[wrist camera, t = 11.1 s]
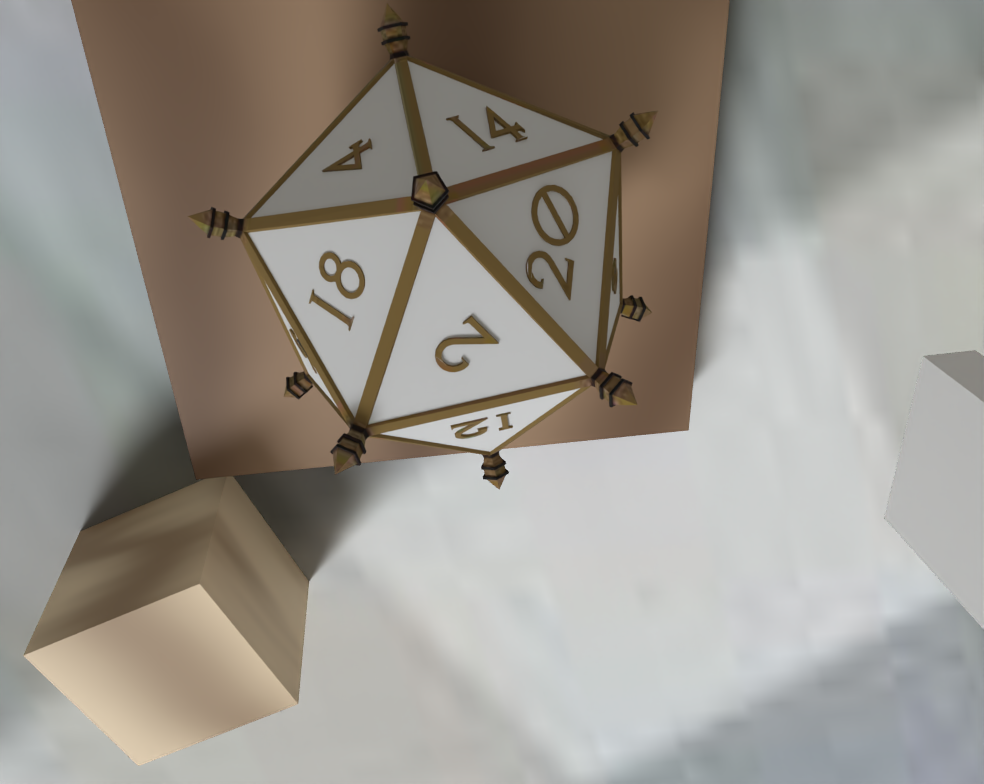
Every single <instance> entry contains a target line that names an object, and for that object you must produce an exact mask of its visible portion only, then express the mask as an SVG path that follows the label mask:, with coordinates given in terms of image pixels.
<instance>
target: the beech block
mask: <svg viewBox="0 0 984 784" xmlns="http://www.w3.org/2000/svg"><path fill="white" fill-rule="evenodd" d="M308 587H309V581H308V580H307V578H306V577H305V575H304V574H303V573H302V571H301V570H300V569H299V567H298V566H297V564H296V563H295V562H294V560H293V559H292V557H291V556H290V555H289V553H288V552H287V550H286V549H285V548H284V546H283V545H282V544H281V542H280V541H279V539H278V538H277V537H276V535H275V534H274V532H273V531H272V530H271V528H270V527H269V525H268V524H267V523H266V521H265V520H264V519H263V517H262V516H261V514H260V513H259V512H258V510H257V509H256V507H255V506H254V505H253V503H252V502H251V500H250V499H249V498H248V496H247V495H246V494H245V492H244V491H243V489H242V488H241V487H240V485H239V484H238V482H237V481H236V480H235V478H234V477H233V476H228V477H218V478H208V479H204V480H201V481H199V482H197V483H194V484H192V485H190V486H187V487H185V488H182V489H180V490H178V491H175V492H173V493H170V494H168V495H166V496H163V497H161V498H159V499H156V500H154V501H151V502H149V503H147V504H144V505H142V506H139V507H137V508H135V509H132V510H130V511H128V512H125V513H123V514H120V515H118V516H116V517H113V518H111V519H108V520H106V521H104V522H101V523H99V524H97V525H94V526H92V527H89V528H87V529H85V530H82V531H80V533H79V535H78V538H77V540H76V542H75V544H74V546H73V548H72V551H71V553H70V555H69V557H68V559H67V561H66V564H65V566H64V568H63V570H62V572H61V574H60V577H59V579H58V581H57V583H56V585H55V588H54V590H53V592H52V594H51V596H50V598H49V601H48V603H47V605H46V607H45V609H44V611H43V614H42V616H41V618H40V620H39V622H38V625H37V627H36V629H35V631H34V633H33V635H32V638H31V640H30V642H29V644H28V646H27V648H26V651H25V653H24V655H23V656H24V657H25V658H26V659H27V660H28V661H29V662H30V663H31V664H33V665H34V666H35V667H36V668H37V669H38V670H39V671H40V672H41V673H42V674H43V675H44V676H45V677H46V678H47V679H48V680H49V681H50V682H51V683H52V684H53V685H54V686H55V687H57V688H58V689H59V690H60V691H61V692H62V693H63V694H64V695H65V696H66V697H67V698H68V699H69V700H70V701H71V702H72V703H73V704H74V705H75V706H76V707H77V708H78V709H80V710H81V711H82V712H83V713H84V714H85V715H86V716H87V717H88V718H89V719H90V720H91V721H92V722H93V723H94V724H95V725H96V726H97V727H98V728H99V729H100V730H101V731H103V732H104V733H105V734H106V735H107V736H108V737H109V738H110V739H111V740H112V741H113V742H114V743H115V744H116V745H117V746H118V747H119V748H120V749H121V750H122V751H123V752H124V753H125V754H127V755H128V756H129V757H130V758H131V759H132V760H133V761H134V762H135V763H136V764H137V765H138V766H140V765H142V764H145V763H148V762H150V761H153V760H155V759H158V758H160V757H163V756H166V755H168V754H171V753H173V752H176V751H178V750H181V749H184V748H186V747H189V746H191V745H194V744H196V743H199V742H202V741H204V740H207V739H209V738H212V737H215V736H217V735H220V734H222V733H225V732H227V731H230V730H233V729H235V728H238V727H240V726H243V725H245V724H248V723H251V722H253V721H256V720H258V719H261V718H263V717H266V716H269V715H271V714H274V713H276V712H279V711H281V710H284V709H287V708H289V707H292V706H294V705H297V704H298V700H299V689H300V677H301V666H302V655H303V644H304V632H305V621H306V610H307V599H308Z"/></svg>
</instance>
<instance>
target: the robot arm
mask: <svg viewBox="0 0 984 784" xmlns="http://www.w3.org/2000/svg"><path fill="white" fill-rule="evenodd" d="M884 519H885V520H886V521H887V522H888V523H889V524H890V525H891V526H892V528H893V529H894V530H895V531H896V532H897V533H898V534H899V535H900V536H901V538H902V539H903V540H904V541H905V542H906V543H907V544H908V545H909V547H910V548H911V549H912V550H913V551H914V552H915V553H916V554H917V555H918V557H919V558H920V559H921V560H922V561H923V562H924V563H925V564H926V566H927V567H928V568H929V569H930V570H931V571H932V572H933V573H934V574H935V576H936V577H937V578H938V579H939V580H940V581H941V582H942V583H943V584H944V586H945V587H946V588H947V589H948V590H949V591H950V592H951V593H952V595H953V596H954V597H955V598H956V599H957V600H958V601H959V602H960V603H961V605H962V606H963V607H964V608H965V609H966V610H967V611H968V612H969V613H970V615H971V616H972V617H973V618H974V619H975V620H976V621H977V622H978V624H979V625H980V626H981V627H982V628H983V629H984V356H983V355H981V354H980V353H978V352H977V351H975V350H974V351H965V352H955V353H946V354H937V355H928V356H923V357H922V362H921V366H920V370H919V374H918V378H917V383H916V387H915V391H914V395H913V399H912V404H911V408H910V412H909V416H908V420H907V424H906V429H905V433H904V437H903V441H902V445H901V450H900V454H899V458H898V462H897V466H896V471H895V475H894V479H893V483H892V487H891V492H890V496H889V500H888V504H887V508H886V512H885V517H884Z"/></svg>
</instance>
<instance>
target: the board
mask: <svg viewBox="0 0 984 784" xmlns="http://www.w3.org/2000/svg"><path fill="white" fill-rule="evenodd" d="M71 1H72V5H73V9H74V13H75V17H76V21H77V24H78V28H79V32H80V36H81V40H82V44H83V47H84V51H85V55H86V59H87V63H88V67H89V71H90V74H91V78H92V82H93V86H94V90H95V94H96V97H97V101H98V105H99V109H100V113H101V117H102V120H103V124H104V128H105V132H106V136H107V140H108V143H109V147H110V151H111V155H112V159H113V163H114V166H115V170H116V174H117V178H118V182H119V186H120V190H121V193H122V197H123V201H124V205H125V209H126V213H127V216H128V220H129V224H130V228H131V232H132V236H133V239H134V243H135V247H136V251H137V255H138V259H139V262H140V266H141V270H142V274H143V278H144V282H145V286H146V289H147V293H148V297H149V301H150V305H151V309H152V312H153V316H154V320H155V324H156V328H157V332H158V335H159V339H160V343H161V347H162V351H163V355H164V358H165V362H166V366H167V370H168V374H169V378H170V381H171V385H172V389H173V393H174V397H175V401H176V405H177V408H178V412H179V416H180V420H181V424H182V428H183V431H184V435H185V439H186V443H187V447H188V451H189V454H190V458H191V462H192V466H193V470H194V474H195V477H196V480H198V479H208V478H218V477H228V476H238V475H248V474H258V473H268V472H278V471H288V470H298V469H308V468H318V467H328V466H334V461H333V454H331V453H330V451H331V450H332V449H333V448H334V447H335V445H336V444H339V443H338V442H337V441H338V439H339V438H340V437H341V436H342V435H343V434H344V433H345V434H347V433H348V432H349V430H350V428H349V427H348V426H347V424H346V423H345V422H344V421H343V420H342V418H341V417H340V416H339V415H338V414H337V412H336V411H335V410H334V409H333V407H332V406H331V405H330V404H329V403H328V401H327V400H326V399H325V398H324V397H323V395H322V394H321V393H320V392H319V391H318V389H317V388H316V387H315V386H314V384H312V385H313V387H312V388H311V389H310V390H309V391H308V392H307V393H306V394H304V395H303V396H302V397H301V398H300V399H299V400H298V399H297V398H295V397H284V392H285V388H286V377H292V376H293V373H294V372H299V373H300V372H303V371H304V370H303V368H302V366H301V364H300V362H299V360H298V358H297V356H296V353H295V351H294V349H293V347H292V345H291V343H290V341H289V339H288V337H287V335H286V333H285V331H284V329H283V327H282V324H281V322H280V320H279V318H278V316H277V314H276V312H275V310H274V308H273V306H272V304H271V302H270V300H269V297H268V295H267V293H266V291H265V289H264V287H263V285H262V283H261V281H260V279H259V277H258V275H257V273H256V270H255V268H254V266H253V264H252V262H251V260H250V258H249V256H248V254H247V252H246V250H245V248H244V246H243V243H242V241H241V239H240V238H238V237H236V236H233V237H225V238H224V240H221V237H218V236H211V237H210V238H207V234H206V233H205V232H204V231H203V230H202V229H201V228H199V227H198V226H197V225H196V224H195V223H194V222H193V221H192V220H191V219H190V218H188V217H187V216H190V215H194V214H197V213H200V212H204V211H207V210H210V209H211V207H214V208H216V211H219V212H223V213H224V210H225V211H228V212H230V213H229V215H231V216H233V217H235V218H238V219H243V218H244V217H245V216H246V215H247V213H248V212H249V211H250V210H251V209H252V208H253V207H254V206H255V205H256V204H257V203H258V202H259V201H260V199H261V198H262V197H263V196H264V195H265V194H266V193H267V192H268V191H269V190H270V189H271V188H272V186H273V185H274V184H275V183H276V182H277V181H278V180H279V179H280V178H281V177H282V176H283V175H284V173H285V172H286V171H287V170H288V169H289V168H290V167H291V166H292V165H293V164H294V163H295V162H296V161H297V159H298V158H299V157H300V156H301V155H302V154H303V153H304V152H305V151H306V150H307V149H308V148H309V146H310V145H311V144H312V143H313V142H314V141H315V140H316V139H317V138H318V137H319V136H320V135H321V134H322V132H323V131H324V130H325V129H326V128H327V127H328V126H329V125H330V124H331V123H332V122H333V121H334V119H335V118H336V117H337V116H338V115H339V114H340V113H341V112H342V111H343V110H344V109H345V108H346V107H347V105H348V104H349V103H350V102H351V101H352V100H353V99H354V98H355V97H356V96H357V95H358V94H359V92H360V91H361V90H362V89H363V88H364V87H365V86H366V85H367V84H368V83H369V82H370V81H371V79H372V78H373V77H374V76H375V75H376V74H377V73H378V72H379V71H380V70H381V69H382V68H383V67H384V65H385V64H386V63H387V62H388V61H389V60H390V54H389V52H388V50H387V49H386V47H385V45H382V44H381V42H383V38H382V35H381V32H378V30H377V29H378V28H380V26H381V22H382V19H383V15H384V12H385V8H386V5H387V3H388V4H389V5H390V7H391V8H392V9H393V10H394V11H395V12H396V13H397V14H398V16H399V17H400V18H401V19H402V20H403V21H404V22H408V25H407V26H406V31H407V36H410V39H409V40H408V47H407V51H408V53H409V56H412V57H414V58H417V59H419V60H422V61H424V62H427V63H429V64H432V65H434V66H437V67H439V68H442V69H444V70H447V71H449V72H452V73H454V74H457V75H459V76H462V77H464V78H467V79H469V80H472V81H474V82H477V83H479V84H482V85H484V86H487V87H490V88H492V89H495V90H497V91H500V92H502V93H505V94H507V95H510V96H512V97H515V98H517V99H520V100H522V101H525V102H527V103H530V104H532V105H535V106H537V107H540V108H542V109H545V110H547V111H550V112H552V113H555V114H557V115H560V116H562V117H565V118H567V119H570V120H572V121H575V122H577V123H580V124H582V125H585V126H587V127H590V128H592V129H595V130H597V131H600V132H602V133H605V134H607V135H612V134H615V133H616V131H617V130H618V129H619V128H620V126H619V124H620V123H621V122H622V121H624V122H626V121H627V120H628V119H629V118H630V114H631V113H633V112H634V114H639V113H645V112H652V111H658V113H657V115H656V118H655V120H654V123H653V125H652V128H651V130H650V133H649V137H650V139H648V140H647V139H646V138H644V139H643V140H641V141H640V142H638V145H639V146H637V147H635V146H634V145H633V146H630V147H627V148H625V149H624V150H623V151H622V152H621V185H622V284H623V299H624V298H628V297H629V296H631V295H633V296H634V298H639V297H642V298H643V301H644V303H645V304H646V306H647V307H648V308H649V309H650V310H651V312H652V313H651V314H649V315H647V316H646V317H644V318H642V319H641V321H640V322H639V321H635V320H632V319H628V318H625V317H621V315H622V314H620V316H619V320H618V324H617V327H616V331H615V334H614V338H613V341H612V345H611V349H610V352H609V356H608V359H607V363H606V367H605V370H606V372H607V373H609V374H610V373H611V372H613V373H616V374H619V375H620V376H622V378H623V379H625V380H628V381H630V382H632V386H631V388H632V390H633V393H634V396H635V399H636V402H637V405H615V406H614V407H612V408H611V407H610V406H609V402H608V401H607V400H606V399H605V398H604V399H603V400H602V399H600V396H599V392H598V390H597V389H596V387H593V386H591V387H590V388H588V389H587V390H586V391H584V392H583V393H581V394H580V395H578V396H577V397H576V398H574V399H573V400H571V401H570V402H568V403H567V404H566V405H564V406H563V407H561V408H560V409H558V410H557V411H556V412H554V413H553V414H551V415H550V416H548V417H547V418H546V419H544V420H543V421H541V422H540V423H538V424H537V425H536V426H534V427H533V428H531V429H530V430H528V431H527V432H525V433H524V434H523V435H521V436H520V437H518V438H517V439H515V440H514V441H513V442H511V443H510V444H508V445H507V446H505V447H504V448H503V449H507V448H517V447H527V446H537V445H547V444H557V443H567V442H577V441H587V440H597V439H607V438H616V437H626V436H636V435H646V434H656V433H666V432H676V431H686V430H689V420H690V409H691V399H692V388H693V378H694V367H695V357H696V347H697V336H698V326H699V315H700V305H701V294H702V284H703V273H704V263H705V252H706V242H707V232H708V221H709V211H710V200H711V190H712V179H713V169H714V158H715V148H716V137H717V127H718V117H719V106H720V96H721V85H722V75H723V64H724V54H725V43H726V33H727V22H728V12H729V1H730V0H71ZM622 378H621V379H622ZM365 449H366V454H362V455H361V458H360V461H361V463H368V462H378V461H387V460H397V459H407V458H417V457H427V456H437V455H447V454H457V453H467V452H463V451H456V450H449V449H443V448H436V447H429V446H422V445H416V444H409V443H402V442H395V441H389V440H382V439H375V438H369V437H368V438H367V439H366V441H365Z"/></svg>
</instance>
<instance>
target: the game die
mask: <svg viewBox="0 0 984 784" xmlns="http://www.w3.org/2000/svg"><path fill="white" fill-rule="evenodd" d="M407 25H408V22H404V21H403V20H402V19H401V18H400V17H399V16H398V14H397V13H396V12H395V11H394V10H393V9H392V8H391V7H390V5H389V4H388V3H387V5H386V8H385V12H384V15H383V19H382V22H381V26H380V28H378V29H377V30H378V32H381V35H382V38H383V42H381V44H382V45H385V47H386V49H387V50H388V52H389V54H390V60H389V61H388V62H387V63H386V64H385V65H384V67H383V68H382V69H381V70H380V71H379V72H378V73H377V74H376V75H375V76H374V77H373V78H372V79H371V81H370V82H369V83H368V84H367V85H366V86H365V87H364V88H363V89H362V90H361V91H360V92H359V94H358V95H357V96H356V97H355V98H354V99H353V100H352V101H351V102H350V103H349V104H348V105H347V107H346V108H345V109H344V110H343V111H342V112H341V113H340V114H339V115H338V116H337V117H336V118H335V119H334V121H333V122H332V123H331V124H330V125H329V126H328V127H327V128H326V129H325V130H324V131H323V132H322V134H321V135H320V136H319V137H318V138H317V139H316V140H315V141H314V142H313V143H312V144H311V145H310V146H309V148H308V149H307V150H306V151H305V152H304V153H303V154H302V155H301V156H300V157H299V158H298V159H297V161H296V162H295V163H294V164H293V165H292V166H291V167H290V168H289V169H288V170H287V171H286V172H285V173H284V175H283V176H282V177H281V178H280V179H279V180H278V181H277V182H276V183H275V184H274V185H273V186H272V188H271V189H270V190H269V191H268V192H267V193H266V194H265V195H264V196H263V197H262V198H261V199H260V201H259V202H258V203H257V204H256V205H255V206H254V207H253V208H252V209H251V210H250V211H249V212H248V213H247V215H246V216H245V217H244V218H243V219H238V218H235V217H233V216H231V215H229V213H230V212H228V211H225V210H224V213H223V212H219V211H216V208H214V207H211V209H210V210H207V211H204V212H200V213H197V214H194V215H190V216H187V217H188V218H190V219H191V220H192V221H193V222H194V223H195V224H196V225H197V226H198V227H199V228H201V229H202V230H203V231H204V232H205V233H206V234H207V238H210V237H211V236H218V237H221V240H224V238H225V237H233V236H236V237H238V238H240V239H241V241H242V243H243V246H244V248H245V250H246V252H247V254H248V256H249V258H250V260H251V262H252V264H253V266H254V268H255V270H256V273H257V275H258V277H259V279H260V281H261V283H262V285H263V287H264V289H265V291H266V293H267V295H268V297H269V300H270V302H271V304H272V306H273V308H274V310H275V312H276V314H277V316H278V318H279V320H280V322H281V324H282V327H283V329H284V331H285V333H286V335H287V337H288V339H289V341H290V343H291V345H292V347H293V349H294V351H295V353H296V356H297V358H298V360H299V362H300V364H301V366H302V368H303V370H304V371H303V372H300V373H299V372H294V373H293V376H292V377H286V388H285V392H284V397H295V398H297V399H298V400H299V399H300V398H301V397H302V396H303V395H304V394H306V393H307V392H308V391H309V390H310V389H311V388H312V387H313V385H312V384H314V386H315V387H316V388H317V389H318V391H319V392H320V393H321V394H322V395H323V397H324V398H325V399H326V400H327V401H328V403H329V404H330V405H331V406H332V407H333V409H334V410H335V411H336V412H337V414H338V415H339V416H340V417H341V418H342V420H343V421H344V422H345V423H346V424H347V426H348V427H349V428H350V430H349V432H348V433H347V434H345V433H344V434H343V435H342V436H341V437H340V438H339V439H338V441H337V442H338V443H339V444H336V445H335V447H334V448H333V449H332V450H331V451H330V453H331V454H333V461H334V470H335V474H337V473H339V472H341V471H343V470H345V469H348V468H350V467H352V466H354V465H361V461H360V458H361V455H362V454H366V449H365V441H366V439H367V438H368V437H369V438H375V439H382V440H389V441H395V442H402V443H409V444H416V445H422V446H429V447H436V448H443V449H449V450H456V451H463V452H469V453H476V454H482V455H483V457H484V463H483V465H482V467H481V468H482V469H483V470H484V473H485V474H484V476H483V479H487V480H488V481H490V482H491V483H492V484H493V485H494V486H496V487H497V488H498V489H500V487H501V485H502V482H503V480H504V478H505V476H506V475H507V474H508V473H509V472H508V470H506V469H505V466H504V465H505V464H506V462H505V461H504V460H503V459H502V458H501V457H500V455H499V451H500V450H501V449H503V448H504V447H505V446H507V445H508V444H510V443H511V442H513V441H514V440H515V439H517V438H518V437H520V436H521V435H523V434H524V433H525V432H527V431H528V430H530V429H531V428H533V427H534V426H536V425H537V424H538V423H540V422H541V421H543V420H544V419H546V418H547V417H548V416H550V415H551V414H553V413H554V412H556V411H557V410H558V409H560V408H561V407H563V406H564V405H566V404H567V403H568V402H570V401H571V400H573V399H574V398H576V397H577V396H578V395H580V394H581V393H583V392H584V391H586V390H587V389H588V388H590V387H591V386H593V387H596V389H597V390H598V392H599V396H600V399H602V400H603V399H604V398H605V399H606V400H607V401H608V402H609V406H610V407H611V408H612V407H614V406H615V405H637V402H636V399H635V396H634V393H633V390H632V388H631V386H632V382H630V381H628V380H625V379H623V378H622V376H620V375H619V374H616V373H613V372H611V373H610V374H609V373H607V372H606V370H605V367H606V363H607V359H608V356H609V352H610V349H611V345H612V341H613V338H614V334H615V331H616V327H617V324H618V320H619V316H620V314H622V315H621V317H625V318H628V319H632V320H635V321H639V322H640V321H641V319H642V318H644V317H646V316H647V315H649V314H651V313H652V312H651V310H650V309H649V308H648V307H647V306H646V304H645V303H644V301H643V298H642V297H639V298H634V296H633V295H631V296H629V297H628V298H624V299H623V284H622V185H621V152H622V151H623V150H624V149H625V148H627V147H630V146H633V145H634V146H635V147H637V146H639V145H638V142H640V141H641V140H643V139H644V138H646V139H647V140H648V139H650V137H649V133H650V130H651V128H652V125H653V123H654V120H655V118H656V115H657V113H658V111H652V112H645V113H639V114H634V112H633V113H631V114H630V118H629V119H628V120H627V121H626V122H624V121H622V122H621V123H620V124H619V126H620V128H619V129H618V130H617V131H616V133H615V134H612V135H607V134H605V133H602V132H600V131H597V130H595V129H592V128H590V127H587V126H585V125H582V124H580V123H577V122H575V121H572V120H570V119H567V118H565V117H562V116H560V115H557V114H555V113H552V112H550V111H547V110H545V109H542V108H540V107H537V106H535V105H532V104H530V103H527V102H525V101H522V100H520V99H517V98H515V97H512V96H510V95H507V94H505V93H502V92H500V91H497V90H495V89H492V88H490V87H487V86H484V85H482V84H479V83H477V82H474V81H472V80H469V79H467V78H464V77H462V76H459V75H457V74H454V73H452V72H449V71H447V70H444V69H442V68H439V67H437V66H434V65H432V64H429V63H427V62H424V61H422V60H419V59H417V58H414V57H412V56H409V53H408V51H407V47H408V40H409V39H410V36H407V31H406V26H407ZM621 378H622V379H621Z"/></svg>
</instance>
